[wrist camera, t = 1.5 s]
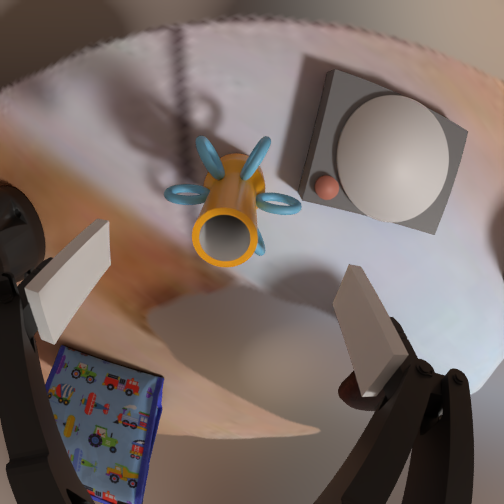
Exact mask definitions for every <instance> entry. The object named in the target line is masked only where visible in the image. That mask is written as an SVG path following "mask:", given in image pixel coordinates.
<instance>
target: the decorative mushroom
mask: <svg viewBox="0 0 504 504" xmlns="http://www.w3.org/2000/svg"><path fill="white" fill-rule="evenodd" d="M338 394H339V397H340V398H341V399H342V400H343V401H344V402H345V403H346V404H347V405H349V406H350V407H352V408H355V409H359V410H365V411H376V409H377V408H376V409H373V408H374V407H375V406H376V405H377V404H378V403H379V402H380V400H381V399H382V398H383V397H384V396H385V392H384V389H382V390H381V391H380V392H379V394H378V395H377V396H370V397H362V396H361V392H360V389H359V385H358V382H357V379H356V375H355V372H354V371H353V372H352V373H351V374H350V375H349V376H348V377H347V378H346V379H345V380H344V381H343V382H342V383H341V385H340V387H339V389H338Z"/></svg>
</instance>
